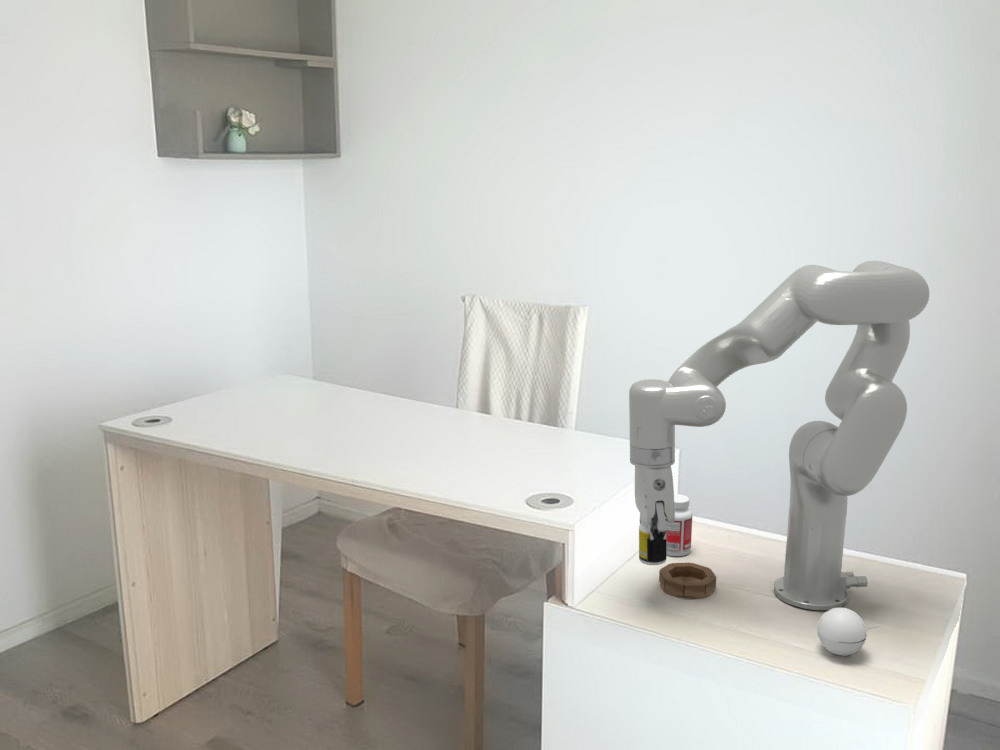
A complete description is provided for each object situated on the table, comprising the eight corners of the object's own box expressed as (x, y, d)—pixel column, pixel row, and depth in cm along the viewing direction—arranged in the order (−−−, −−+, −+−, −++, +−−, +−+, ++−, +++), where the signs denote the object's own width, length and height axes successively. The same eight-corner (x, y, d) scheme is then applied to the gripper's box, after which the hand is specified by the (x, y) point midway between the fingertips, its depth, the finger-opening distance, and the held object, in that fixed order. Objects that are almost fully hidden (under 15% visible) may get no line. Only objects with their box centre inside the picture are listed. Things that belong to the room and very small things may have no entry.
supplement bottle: (666, 566, 167) (665, 520, 165) (638, 565, 168) (637, 519, 166) (667, 555, 172) (667, 510, 170) (639, 553, 173) (639, 509, 171)
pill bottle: (683, 543, 197) (685, 491, 194) (695, 555, 191) (698, 502, 188) (654, 546, 195) (656, 493, 193) (665, 558, 189) (668, 504, 187)
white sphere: (824, 664, 151) (828, 621, 150) (809, 641, 158) (812, 599, 157) (889, 664, 151) (893, 621, 150) (871, 641, 158) (875, 599, 157)
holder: (705, 574, 182) (705, 561, 182) (720, 598, 173) (721, 584, 173) (654, 576, 182) (655, 563, 181) (667, 600, 172) (668, 586, 172)
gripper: (687, 468, 158) (687, 572, 162) (661, 437, 174) (661, 532, 178) (641, 471, 157) (642, 576, 161) (619, 439, 173) (621, 536, 178)
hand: (652, 552), depth 170 cm, fingers closed on supplement bottle, 4 cm apart
